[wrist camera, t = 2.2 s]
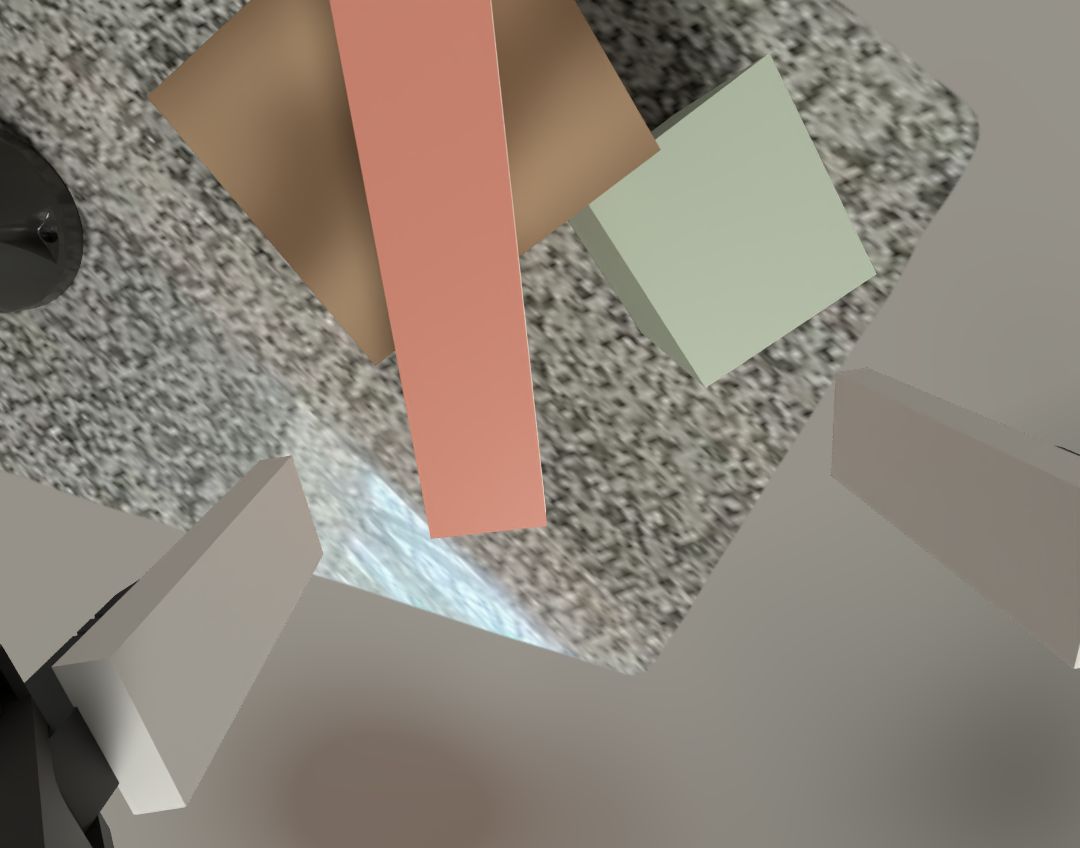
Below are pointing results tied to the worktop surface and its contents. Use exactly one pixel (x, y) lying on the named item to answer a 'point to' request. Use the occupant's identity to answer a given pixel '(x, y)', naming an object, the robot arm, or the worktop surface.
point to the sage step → (726, 228)
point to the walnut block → (331, 151)
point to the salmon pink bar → (447, 252)
